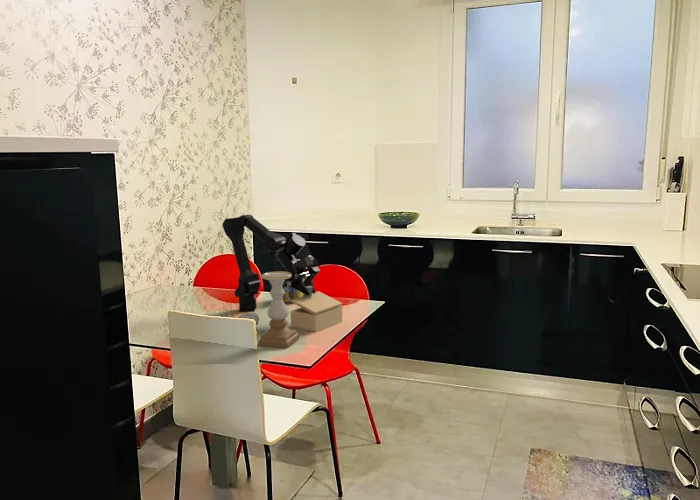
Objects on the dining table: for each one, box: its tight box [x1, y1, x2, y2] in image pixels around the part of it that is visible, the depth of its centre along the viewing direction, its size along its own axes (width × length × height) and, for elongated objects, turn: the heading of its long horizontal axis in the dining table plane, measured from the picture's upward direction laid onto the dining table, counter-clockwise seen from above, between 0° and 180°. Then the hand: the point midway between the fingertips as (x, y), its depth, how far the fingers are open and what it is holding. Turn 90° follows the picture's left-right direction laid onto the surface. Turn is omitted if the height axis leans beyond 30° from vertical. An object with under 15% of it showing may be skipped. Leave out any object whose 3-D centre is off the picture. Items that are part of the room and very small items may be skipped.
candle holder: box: [257, 270, 300, 349], centre depth 194 cm, size 11×11×24 cm
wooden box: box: [290, 305, 343, 333], centre depth 217 cm, size 12×16×6 cm
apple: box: [237, 312, 260, 326], centre depth 210 cm, size 8×8×7 cm
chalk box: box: [282, 282, 304, 303], centre depth 253 cm, size 9×9×15 cm
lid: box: [290, 285, 343, 315], centre depth 215 cm, size 12×16×5 cm
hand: (311, 294), depth 217 cm, fingers closed on lid, 3 cm apart
